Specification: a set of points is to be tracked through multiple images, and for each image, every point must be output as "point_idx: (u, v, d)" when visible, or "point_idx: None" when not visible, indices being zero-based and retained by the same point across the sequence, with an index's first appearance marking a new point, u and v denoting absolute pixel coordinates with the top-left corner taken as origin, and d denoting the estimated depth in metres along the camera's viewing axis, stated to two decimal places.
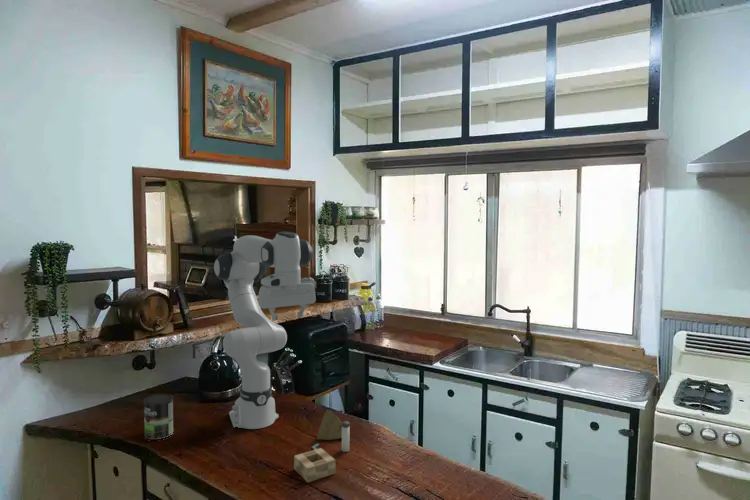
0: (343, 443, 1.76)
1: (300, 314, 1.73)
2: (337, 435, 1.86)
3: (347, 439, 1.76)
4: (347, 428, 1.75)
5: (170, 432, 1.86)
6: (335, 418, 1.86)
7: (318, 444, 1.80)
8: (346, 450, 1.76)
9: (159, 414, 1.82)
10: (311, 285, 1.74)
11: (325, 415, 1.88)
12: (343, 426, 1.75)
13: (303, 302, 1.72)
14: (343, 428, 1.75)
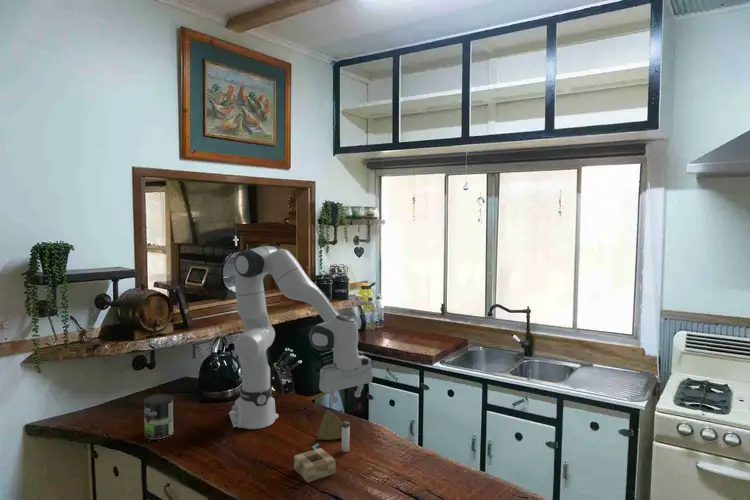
0: (343, 443, 1.76)
1: None
2: (337, 435, 1.86)
3: (347, 439, 1.76)
4: (347, 428, 1.75)
5: (170, 432, 1.86)
6: (335, 418, 1.86)
7: (318, 444, 1.80)
8: (346, 450, 1.76)
9: (159, 414, 1.82)
10: None
11: (325, 415, 1.88)
12: (343, 426, 1.75)
13: None
14: (343, 428, 1.75)
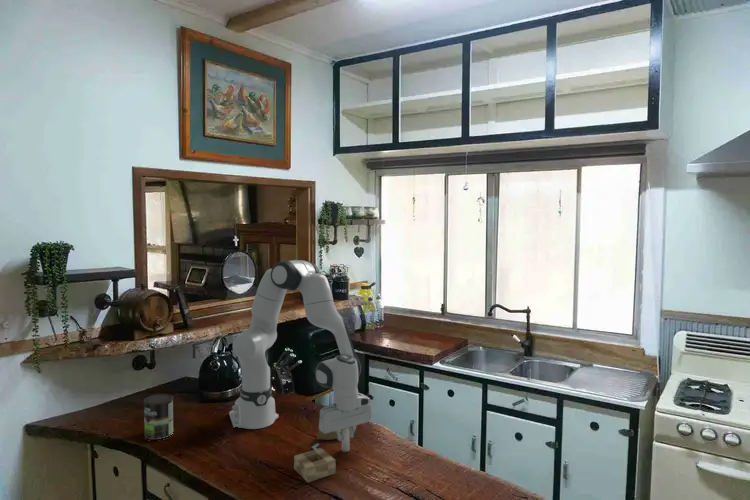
0: (343, 443, 1.76)
1: None
2: (337, 435, 1.86)
3: (347, 439, 1.76)
4: (347, 428, 1.75)
5: (170, 432, 1.86)
6: None
7: (318, 444, 1.80)
8: (346, 450, 1.76)
9: (159, 414, 1.82)
10: None
11: None
12: None
13: None
14: None
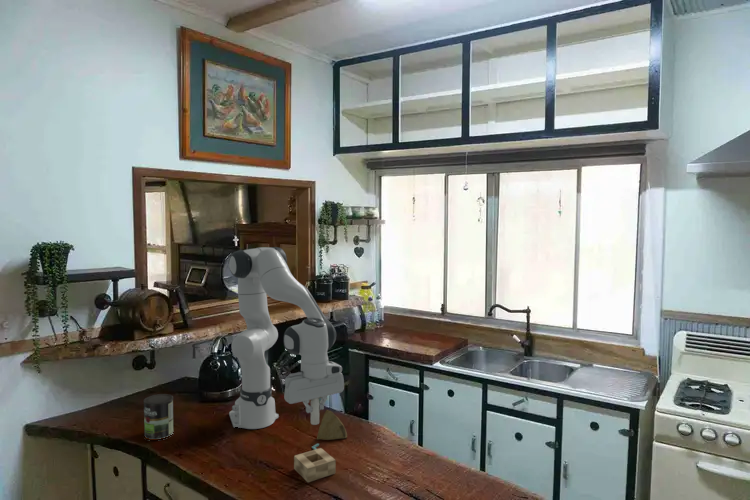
0: (312, 415, 1.60)
1: None
2: (337, 435, 1.86)
3: (316, 411, 1.60)
4: (316, 399, 1.59)
5: (170, 432, 1.86)
6: (335, 418, 1.86)
7: (318, 444, 1.80)
8: (315, 423, 1.60)
9: (159, 414, 1.82)
10: None
11: (325, 415, 1.88)
12: None
13: None
14: (312, 399, 1.59)
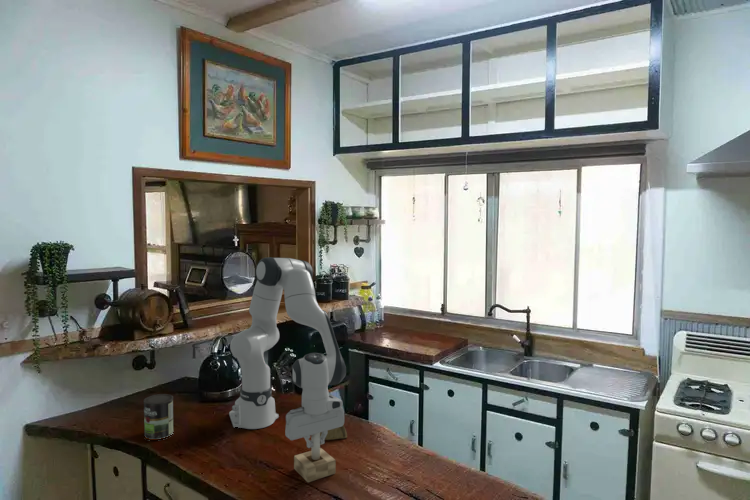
0: (313, 450, 1.61)
1: None
2: (337, 436, 1.86)
3: (317, 446, 1.61)
4: (317, 434, 1.60)
5: (170, 432, 1.86)
6: None
7: None
8: (316, 458, 1.61)
9: (159, 414, 1.82)
10: None
11: None
12: None
13: None
14: (313, 434, 1.60)
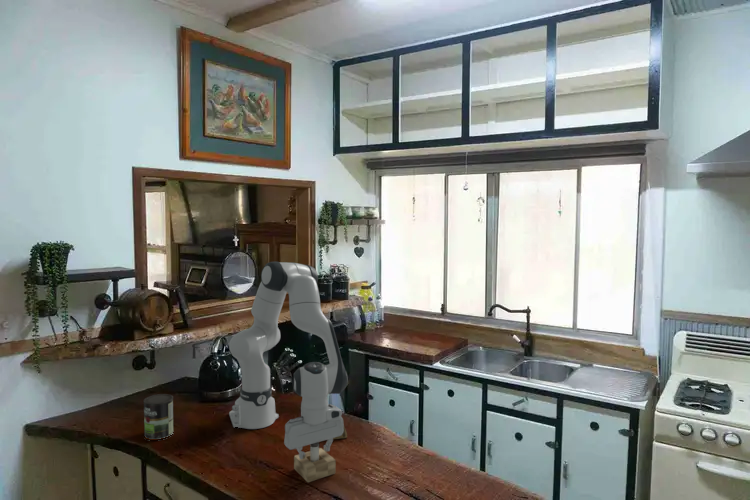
0: None
1: None
2: None
3: (316, 459, 1.61)
4: (316, 448, 1.61)
5: (170, 432, 1.86)
6: None
7: None
8: None
9: (159, 414, 1.82)
10: None
11: None
12: (312, 445, 1.61)
13: None
14: (312, 448, 1.61)
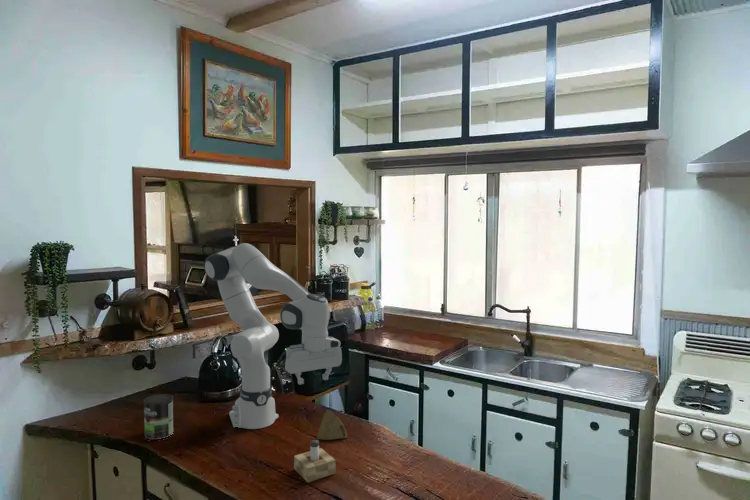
0: None
1: None
2: (337, 435, 1.86)
3: (316, 459, 1.61)
4: (316, 448, 1.61)
5: (170, 432, 1.86)
6: (335, 418, 1.86)
7: None
8: None
9: (159, 414, 1.82)
10: None
11: (325, 415, 1.88)
12: (312, 445, 1.61)
13: None
14: (312, 448, 1.61)
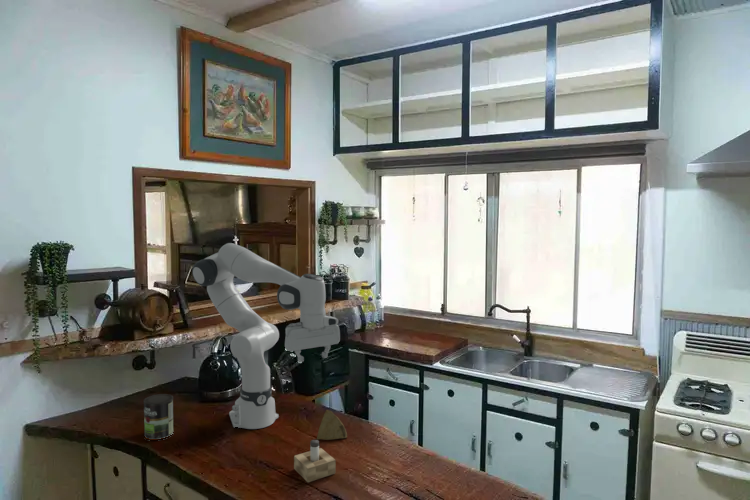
0: None
1: None
2: (337, 435, 1.86)
3: (316, 460, 1.61)
4: (316, 448, 1.61)
5: (170, 432, 1.86)
6: (335, 418, 1.86)
7: None
8: None
9: (159, 414, 1.82)
10: None
11: (325, 415, 1.88)
12: (312, 445, 1.60)
13: None
14: (312, 448, 1.61)
